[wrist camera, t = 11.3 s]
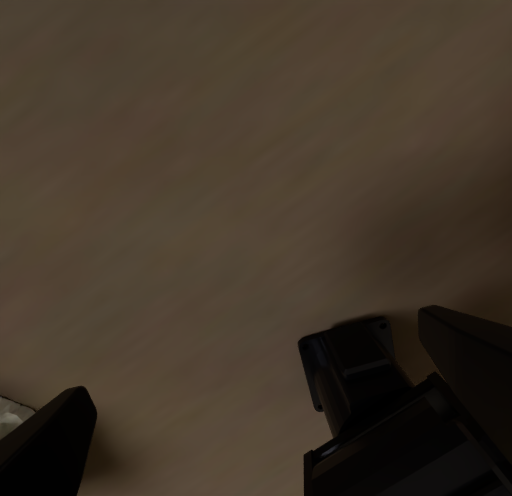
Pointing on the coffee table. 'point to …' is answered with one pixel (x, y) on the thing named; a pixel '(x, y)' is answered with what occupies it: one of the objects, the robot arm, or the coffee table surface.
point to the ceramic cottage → (12, 415)
